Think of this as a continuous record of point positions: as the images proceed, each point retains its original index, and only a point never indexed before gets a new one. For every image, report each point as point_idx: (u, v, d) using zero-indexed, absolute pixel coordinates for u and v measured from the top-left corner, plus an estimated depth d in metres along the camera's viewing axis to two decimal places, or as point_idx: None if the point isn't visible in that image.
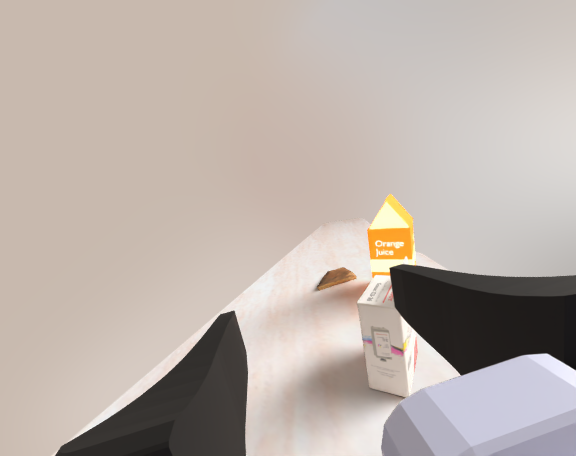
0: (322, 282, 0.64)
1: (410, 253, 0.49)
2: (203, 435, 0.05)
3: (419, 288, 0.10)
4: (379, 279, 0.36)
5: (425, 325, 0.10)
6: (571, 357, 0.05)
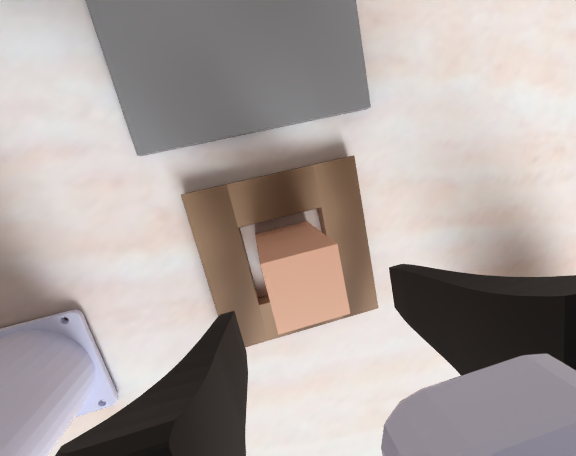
0: None
1: None
2: (203, 435, 0.05)
3: (419, 288, 0.10)
4: None
5: (425, 325, 0.10)
6: (571, 357, 0.05)
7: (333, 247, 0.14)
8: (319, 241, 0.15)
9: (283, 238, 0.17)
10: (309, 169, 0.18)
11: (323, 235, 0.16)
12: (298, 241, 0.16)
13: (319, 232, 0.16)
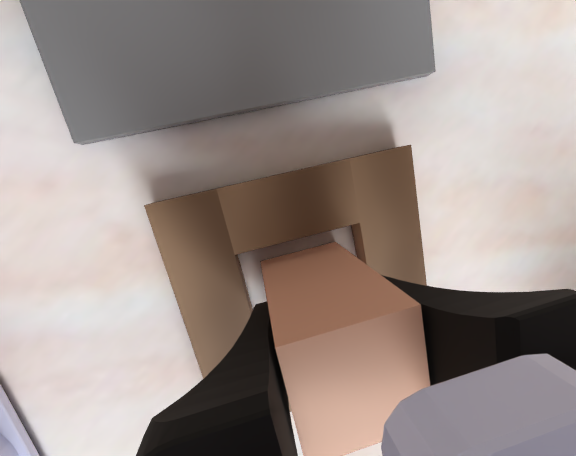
0: None
1: None
2: (278, 411, 0.05)
3: None
4: None
5: None
6: None
7: (413, 311, 0.07)
8: (378, 292, 0.08)
9: (307, 276, 0.10)
10: (343, 165, 0.12)
11: (378, 276, 0.09)
12: (336, 286, 0.09)
13: (367, 268, 0.10)
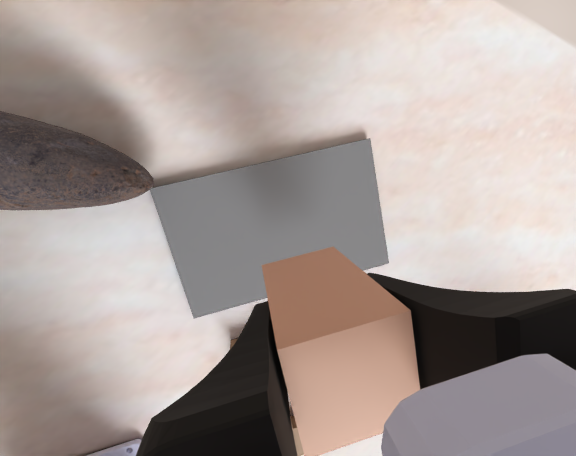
0: None
1: None
2: (278, 411, 0.05)
3: None
4: None
5: None
6: None
7: (403, 316, 0.08)
8: (372, 298, 0.09)
9: (306, 281, 0.11)
10: None
11: (373, 282, 0.10)
12: (333, 291, 0.10)
13: (363, 274, 0.11)
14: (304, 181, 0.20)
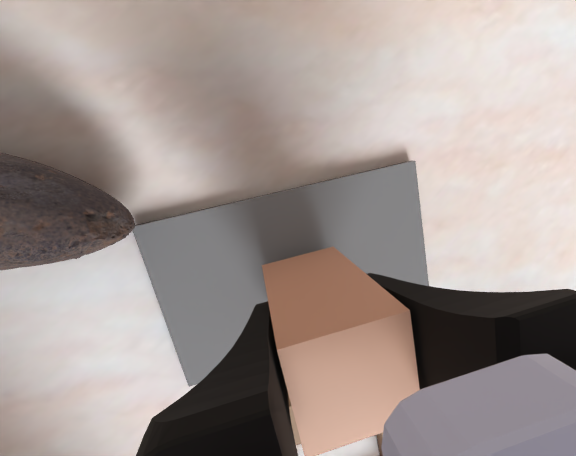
0: None
1: None
2: (278, 411, 0.05)
3: None
4: None
5: None
6: None
7: (402, 316, 0.08)
8: (371, 298, 0.09)
9: (306, 281, 0.11)
10: None
11: (372, 282, 0.10)
12: (333, 291, 0.10)
13: (362, 274, 0.11)
14: (331, 215, 0.15)
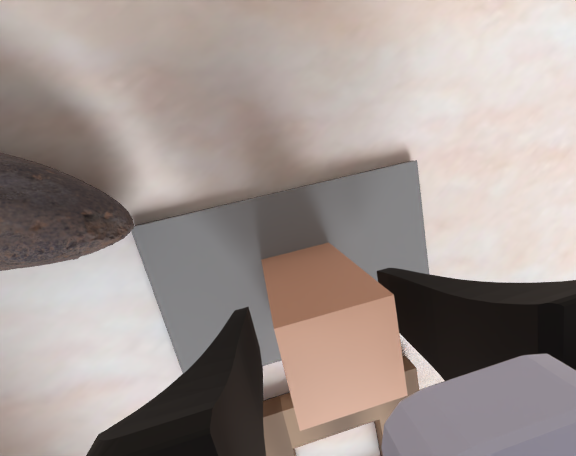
0: None
1: None
2: (233, 425, 0.05)
3: (404, 292, 0.10)
4: None
5: (410, 329, 0.10)
6: None
7: (387, 300, 0.09)
8: (360, 285, 0.10)
9: (302, 272, 0.12)
10: None
11: (362, 272, 0.11)
12: (326, 280, 0.11)
13: (354, 265, 0.11)
14: (332, 215, 0.15)
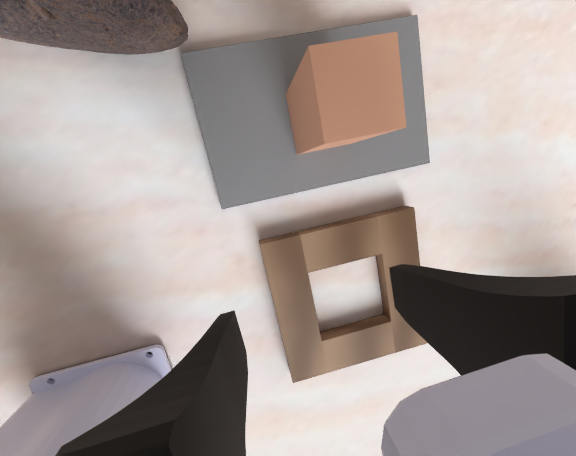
0: None
1: None
2: (203, 435, 0.05)
3: (419, 288, 0.10)
4: None
5: (425, 325, 0.10)
6: (571, 357, 0.05)
7: (392, 36, 0.12)
8: None
9: None
10: (373, 220, 0.20)
11: None
12: None
13: None
14: None
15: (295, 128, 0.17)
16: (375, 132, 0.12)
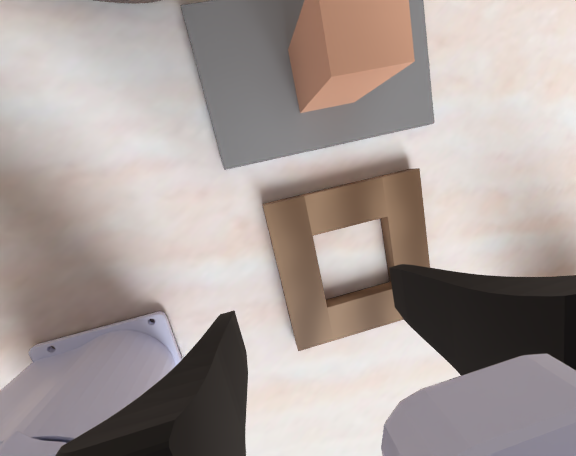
0: None
1: None
2: (203, 435, 0.05)
3: (419, 288, 0.10)
4: None
5: (425, 325, 0.10)
6: (571, 357, 0.05)
7: None
8: None
9: None
10: (378, 181, 0.20)
11: None
12: None
13: None
14: None
15: (298, 82, 0.17)
16: (383, 66, 0.12)
